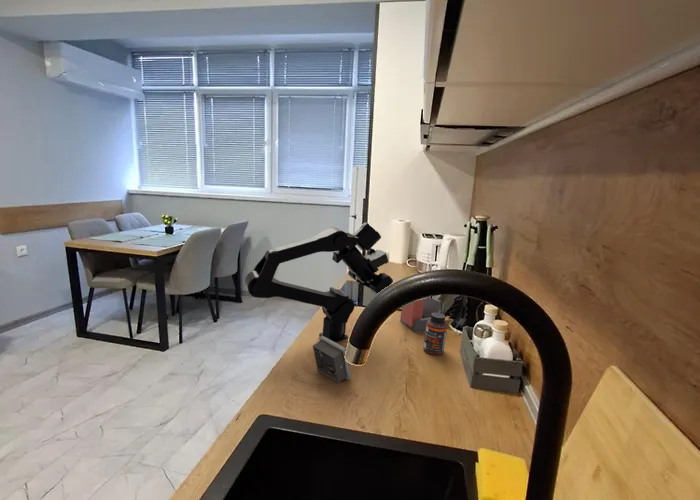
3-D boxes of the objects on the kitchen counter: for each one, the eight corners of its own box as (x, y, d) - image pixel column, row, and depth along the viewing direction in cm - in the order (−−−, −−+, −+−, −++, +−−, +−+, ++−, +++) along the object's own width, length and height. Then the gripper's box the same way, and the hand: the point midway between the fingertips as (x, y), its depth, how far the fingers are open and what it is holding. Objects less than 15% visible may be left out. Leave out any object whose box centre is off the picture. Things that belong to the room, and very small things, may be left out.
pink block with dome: (410, 327, 124) (414, 295, 122) (400, 320, 130) (403, 289, 127) (421, 325, 126) (425, 294, 124) (411, 318, 132) (414, 288, 129)
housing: (416, 332, 124) (420, 303, 122) (400, 321, 132) (403, 293, 130) (437, 329, 127) (441, 301, 125) (419, 318, 136) (423, 291, 134)
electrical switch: (351, 379, 93) (352, 346, 91) (336, 389, 90) (336, 354, 87) (326, 364, 100) (326, 332, 97) (311, 372, 96) (310, 339, 94)
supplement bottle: (422, 353, 110) (427, 316, 107) (423, 344, 115) (427, 309, 113) (443, 357, 108) (448, 320, 106) (443, 348, 114) (448, 312, 112)
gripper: (390, 249, 106) (418, 284, 114) (359, 236, 123) (385, 267, 130) (363, 277, 104) (393, 311, 112) (335, 260, 121) (363, 291, 128)
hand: (383, 293), depth 120 cm, fingers open, 6 cm apart
